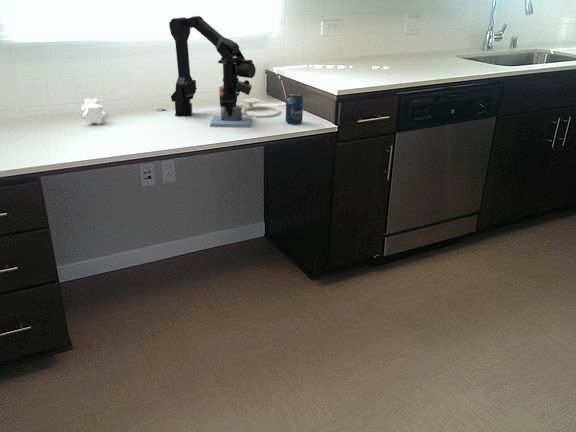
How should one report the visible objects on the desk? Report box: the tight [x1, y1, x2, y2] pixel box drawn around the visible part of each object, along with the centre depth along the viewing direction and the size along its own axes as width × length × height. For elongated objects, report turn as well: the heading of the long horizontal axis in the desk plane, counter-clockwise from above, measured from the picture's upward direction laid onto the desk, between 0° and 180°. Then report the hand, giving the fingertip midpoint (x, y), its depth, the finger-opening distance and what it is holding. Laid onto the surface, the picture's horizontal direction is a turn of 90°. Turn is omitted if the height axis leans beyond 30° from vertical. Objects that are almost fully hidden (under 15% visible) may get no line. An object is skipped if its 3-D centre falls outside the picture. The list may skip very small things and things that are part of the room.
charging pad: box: [209, 115, 253, 128], centre depth 227 cm, size 16×13×1 cm
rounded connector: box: [220, 106, 248, 121], centre depth 225 cm, size 11×4×5 cm, turn 90°
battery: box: [218, 84, 237, 108], centre depth 249 cm, size 4×7×10 cm, turn 112°
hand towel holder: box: [241, 97, 281, 119], centre depth 243 cm, size 17×4×21 cm
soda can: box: [285, 92, 304, 126], centre depth 226 cm, size 7×7×12 cm
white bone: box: [80, 97, 106, 125], centre depth 225 cm, size 15×9×8 cm, turn 22°
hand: (231, 113), depth 225 cm, fingers open, 9 cm apart
